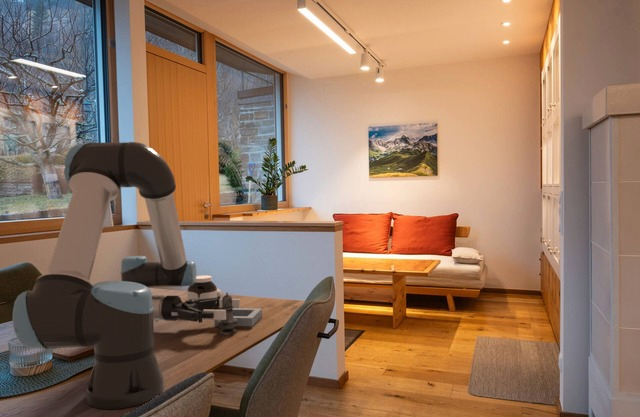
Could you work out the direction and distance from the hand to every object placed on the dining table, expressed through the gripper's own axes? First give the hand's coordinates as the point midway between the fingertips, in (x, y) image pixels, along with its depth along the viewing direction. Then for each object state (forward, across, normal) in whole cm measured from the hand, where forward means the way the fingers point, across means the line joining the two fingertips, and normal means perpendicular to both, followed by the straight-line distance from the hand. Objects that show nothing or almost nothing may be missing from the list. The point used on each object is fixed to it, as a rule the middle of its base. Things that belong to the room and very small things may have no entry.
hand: (233, 309), depth 147 cm
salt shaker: (-2, 0, -7) cm, 7 cm away
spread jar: (-18, -28, -7) cm, 34 cm away
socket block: (-1, -11, -7) cm, 13 cm away
